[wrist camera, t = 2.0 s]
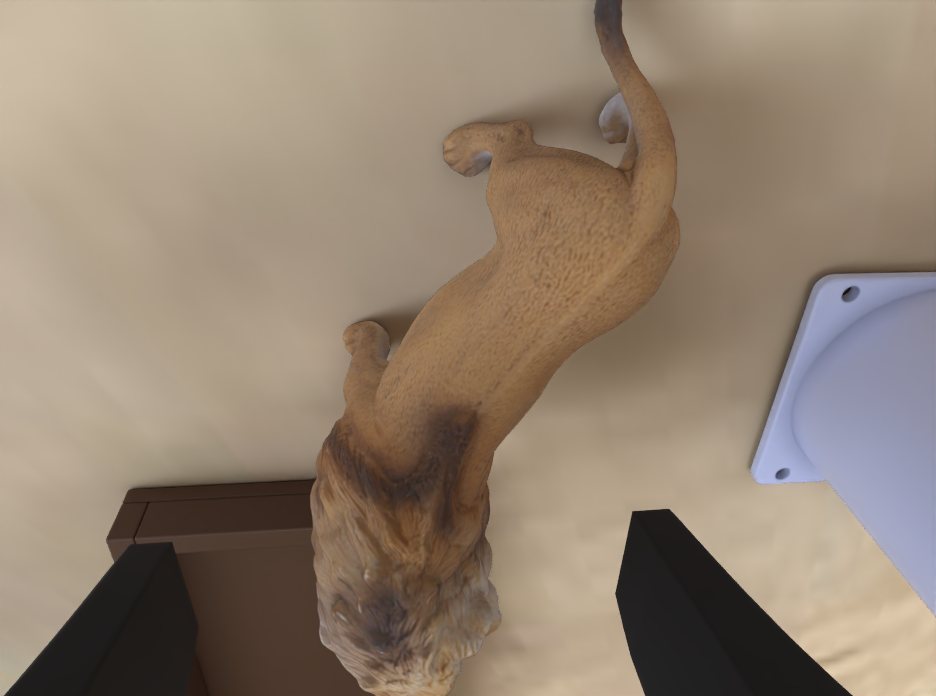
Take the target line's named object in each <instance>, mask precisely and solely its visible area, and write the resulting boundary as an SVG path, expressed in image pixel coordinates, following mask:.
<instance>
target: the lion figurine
mask: <svg viewBox="0 0 936 696" xmlns="http://www.w3.org/2000/svg"><path fill="white" fill-rule="evenodd" d="M594 14H595V26H596V31H597V35H598V38H599V41H600V45H601V51H602V53H603V55H604V57H605V59H606V61H607V63H608V65H609V67H610V69H611V72H612V74H613V76H614V78H615V80H616V82H617V84H618V87H619V89H620V92H619V93H618V94H616V95H615V96H614V97H612V98H611V99H610V100H609V101H608V102H607V104H606V105H605V107H604V109H603V111H602V112H601V114H600V117H599V126H600V128H601V131H602V134H603V137H604V139H605V141H607V142H608V143H610V144H614V143H626V148H625V152H624V155H623V157H622V160H621V162H620V164H619V167H618V168H614V167H612V166H610V165H609V164H607V163H605V162H603V161H601V160H599V159H597V158H595V157H592V156H589V155H587V154H584V153H580V152H577V151H573V150H566V149H560V148H554V147H546V146H541V145H537V144H536V143H535V142H534V139H533V130H532V128H531V126H530V125H529V124H528V123H527V122H525V121H523V120H516V121H511V122H507V123H501V124H487V123H471V124H468V125H464V126H462V127H460V128H458V129H456V130H454V131H453V132H452V133H451V134H450V135H449V136H448V137H447V138H446V140H445V141H444V143H443V154H444V160H445V162H446V163H447V164H448V165H449V166H450V167H451V168H452V169H453V170H454V171H456V172H458V173H460V174H462V175H463V176H465V177H472V176H475V175H477V174H478V173H480V172H481V171H482V170H483V169H484V168H485V167H486V166H487V165H488V164H489V162H490V161H491V160H492V161H491V166H490V172H489V179H488V185H487V190H486V198H487V203H488V206H489V209H490V211H491V213H492V216H493V219H494V225H495V229H496V233H497V236H498V238H497V243H496V245H495V246H494V247H493V249H492V250H491V251H490V252H489V253H488V254H487V255H485V256H484V257H483V258H482V259H480V260H478V261H477V262H475V263H474V264H472V265H471V266H469V267H467V268H466V269H465V270H463V271H462V272H461V273H459V274H458V275H457V276H456V277H454V278H453V279H452V280H450V281H449V282H448V283H446V284H445V285H444V286H443V287H441V288H440V290H439V291H438V292H437V293H436V294H435V295H434V296H433V297H432V298H431V300H430V301H429V302H428V303H427V304H426V306H425V307H424V308H423V309H422V311H421V312H420V313H419V314H418V316H417V317H416V319H415V320H414V322H413V323H412V325H411V326H410V328H409V330H408V332H407V333H406V335H405V337H404V339H403V341H402V342H401V344H400V346H399V347H398V349H397V350H396V352H395V353H394V355H393V357H392V359H391V361H390V362H388V361H386V359H387V356H388V354H389V351H390V348H389V337H388V332H387V331H386V329H384V328H382V327H381V326H380V325H379V324H377V323H375V322H373V321H363V322H358V323H354V324H352V325H351V326H349V327H348V328H347V329H346V331H345V333H344V335H343V340H344V342H345V346H346V349H347V350H348V351H349V352H350V353H351V354H352V356H353V357H352V361H351V364H350V368H349V370H348V373H347V375H346V378H345V382H344V396H345V400H346V404H347V406H346V409H345V412H344V416H343V417H342V418H341V419H339V420H338V421H336V423H335V425H334V427H333V429H332V431H331V433H330V434H329V436H328V437H327V438H326V439H325V441H324V443H323V446H322V449H321V450H320V452H319V454H318V456H317V460H316V467H317V478H316V481H315V482H314V484H313V486H312V490H311V495H310V507H311V511H312V517H313V531H312V535H311V542H312V545H313V548H314V551H315V556H314V563H313V566H314V570H315V573H316V576H317V583H316V585H317V596H318V613H319V618H320V629H319V634H320V639H321V641H322V644H324V645H325V646H326V647H327V648H329V649H330V650H332V651H333V652H335V654H336V656H337V657H338V659H339V660H340V662H341V663H342V665H343V666H344V667H345V669H346V670H347V671H349V672H350V673H351V674H352V675H353V676H354V677H355V678H356V679H357V681H358V684H359V686H360V687H361V688H362V689H363V690H364V691H367V692H370V693H373V694H375V695H376V696H445V695H447V694H448V692H449V691H450V690H451V689H452V688H453V686H454V683H455V677H456V676H457V675H458V674H459V673H460V672H461V662H462V659H465V658H468V657H471V656H474V655H475V654H476V653H477V652H478V651H479V649H480V647H481V645H482V642H483V638H484V636H487V635H489V634H490V633H492V632H494V631H495V630H496V629H497V628H498V627H499V625H500V623H501V617H502V615H501V613H500V611H499V607H498V595H497V592H496V589H495V587H494V586H493V584H492V583H491V582H490V581H489V580H488V576H489V573H490V570H491V563H492V551H491V547H490V545H489V543H488V541H487V539H486V537H485V531H486V527H487V524H488V521H489V515H490V503H489V489H488V485H487V480H488V476H489V473H490V469H491V466H492V461H493V456H494V451H495V450H496V448H497V447H498V446H499V445H500V443H501V442H502V441H503V439H504V438H505V437H506V436H507V435H508V434H509V432H510V431H511V430H512V429H513V428H514V427H515V426H516V425H517V424H518V423H519V421H520V420H521V419H522V418H523V417H524V416H525V414H526V413H527V412H528V411H529V409H530V408H531V407H532V405H533V404H534V403H535V402H536V400H537V399H538V398H539V397H540V395H541V394H542V392H543V390H544V389H545V387H546V385H547V384H548V382H549V380H550V379H551V377H552V376H553V374H554V373H555V372H556V370H557V369H558V368H559V367H560V365H561V364H562V363H563V362H564V361H565V360H566V359H567V358H568V357H569V356H570V355H571V354H572V353H573V352H574V351H576V350H577V349H578V348H580V347H581V346H583V345H584V344H586V343H588V342H589V341H591V340H593V339H595V338H596V337H598V336H600V335H602V334H604V333H605V332H607V331H609V330H611V329H613V328H614V327H616V326H617V325H619V324H620V323H622V322H623V321H625V320H626V319H628V318H629V317H630V316H631V315H633V314H634V313H635V312H636V311H638V310H639V309H640V308H641V307H643V306H644V305H645V304H646V303H647V302H648V301H649V299H650V298H651V297H652V296H653V295H654V294H655V292H656V290H657V289H658V287H659V286H660V284H661V282H662V280H663V278H664V276H665V274H666V273H667V271H668V269H669V267H670V265H671V263H672V261H673V259H674V256H675V254H676V251H677V249H678V247H679V244H680V229H679V223H678V219H677V216H676V214H675V212H674V210H673V209H672V207H671V205H672V201H673V198H674V194H675V188H676V181H677V156H676V147H675V139H674V136H673V132H672V129H671V126H670V122H669V119H668V117H667V115H666V112H665V110H664V108H663V106H662V105H661V103H660V101H659V99H658V98H657V96H656V94H655V92H654V90H653V89H652V87H651V86H650V84H649V82H648V81H647V80H646V78H645V77H644V76H643V74H642V73H641V72H640V70H639V68H638V67H637V65H636V63H635V61H634V60H633V57H632V55H631V52H630V50H629V47H628V44H627V41H626V39H625V37H624V34H623V31H622V0H596V3H595V9H594Z"/></svg>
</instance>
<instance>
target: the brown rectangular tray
mask: <svg viewBox="0 0 936 696" xmlns="http://www.w3.org/2000/svg"><path fill="white" fill-rule="evenodd" d="M315 481H316V480H310V481H290V482H271V483H251V484H231V485H212V486H192V487H173V488H153V489H133V490H128V492H127V494H126V497H125V499H124V501H123V505H122V506H121V508H120V510H119V512H118V515H117V517H116V519H115V521H114V523H113V526H112V528H111V530H110V532H109V534H108V536H107V539H106V542H107V544H108V547H109V550H110V552H111V555H112V558H113V560H114V563H115V561H116V560H117V559H118V558H119V556H120V555H121V554H122V553H123V551H124V550H125V549H126V548H127V547H128V546H129V545H130V544H145V543H160V542H172V543H173V546H174V549H175V553H176V556H177V559H178V562H179V565H180V568H181V571H182V575H183V578H184V581H185V584H186V587H187V590H188V593H189V597H190V600H191V603H192V606H193V609H194V612H195V615H196V618H197V622H198V625H199V629H198V635H197V641H196V647H195V653H194V659H193V665H192V670H191V676H190V681H189V686H188V692H187V696H376V695H375V694H373V693H370V692H367V691H364V690H363V689H362V688H361V687H360V686H359V684H358V681H357V679H356V678H355V677H354V676H353V675H352V674H351V673H350V672H349V671H347V670H346V669H345V667H344V666H343V665H342V663H341V662H340V660H339V659H338V657H337V656H336V654H335V652H333V651H332V650H330V649H329V648H327V647H326V646H325V645H324V644H322V641H321V639H320V634H319V629H320V618H319V613H318V596H317V585H316V583H317V576H316V573H315V570H314V566H313V563H314V556H315V551H314V548H313V545H312V542H311V535H312V531H313V517H312V511H311V507H310V495H311V490H312V486H313V484H314V482H315Z"/></svg>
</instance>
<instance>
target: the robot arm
mask: <svg viewBox="0 0 936 696" xmlns="http://www.w3.org/2000/svg"><path fill="white" fill-rule="evenodd" d="M849 287H851V289H850V291H849V292H848V293H847V294H845V295H843V296H842V294H843V292H844V291H845V290H846V289H848V288H849ZM779 470H780V471H779ZM751 474H752V476H753V478H754V479H755V481H756V482H757V483H759V484H781V483H799V482H817V481H827V482H828V484H829V485H830V486H831V487H832V489H833V490H834V491H835V492H836V494H837V495H838V496H839V497H840V499H841V500H842V501H843V502H844V504H845V505H846V506H847V507H848V509H849V510H850V511H851V512H852V514H853V515H854V516H855V517H856V519H857V520H858V521H859V522H860V524H861V525H862V526H863V527H864V529H865V530H866V531H867V532H868V534H869V535H870V536H871V537H872V539H873V540H874V541H875V542H876V544H877V545H878V546H879V547H880V549H881V550H882V551H883V552H884V554H885V555H886V556H887V557H888V559H889V560H890V561H891V562H892V564H893V565H894V566H895V567H896V569H897V570H898V571H899V572H900V574H901V575H902V576H903V577H904V579H905V580H906V581H907V582H908V584H909V585H910V586H911V587H912V589H913V590H914V591H915V592H916V594H917V595H918V596H919V597H920V599H921V600H922V601H923V602H924V604H925V605H926V606H927V607H928V609H929V610H930V611H931V612H932V614H933V615H934V616H935V617H936V272H903V273H854V274H831V275H826V276H824V277H823V278H821V279H820V280H819V281H818V282H817V283H815V285H814V287H813V289H812V291H811V294H810V297H809V300H808V303H807V306H806V309H805V312H804V314H803V317H802V320H801V323H800V326H799V329H798V332H797V335H796V338H795V341H794V344H793V347H792V350H791V353H790V355H789V358H788V361H787V364H786V367H785V370H784V373H783V376H782V379H781V382H780V385H779V388H778V391H777V394H776V396H775V399H774V402H773V405H772V408H771V411H770V414H769V417H768V420H767V423H766V426H765V429H764V432H763V435H762V437H761V440H760V443H759V446H758V449H757V452H756V455H755V458H754V461H753V464H752V467H751ZM615 594H616V598H617V603H618V607H619V611H620V615H621V619H622V623H623V628H624V632H625V635H626V639H627V643H628V647H629V651H630V655H631V658H632V661H633V663H634V666H635V669H636V672H637V675H638V677H639V680H640V683H641V685H642V688H643V691H644V694H645V696H852V695H851V694H850V693H849V692H848V691H847V690H846V689H845V688H844V687H842V686H841V685H840V684H839V683H838V682H837V681H836V680H835V679H834V678H833V677H831V676H830V675H829V674H828V673H827V672H826V671H825V670H824V669H823V668H822V667H821V666H820V665H819V664H818V663H817V662H815V661H814V660H813V659H812V658H811V657H810V656H809V655H808V654H807V653H806V652H805V651H804V650H803V649H802V648H801V647H800V646H799V645H798V644H797V643H796V642H795V641H794V640H793V639H792V638H790V637H789V636H788V635H787V634H786V633H785V632H784V631H783V630H782V629H781V628H780V627H779V626H778V625H777V624H776V623H775V622H774V620H773V619H772V618H771V617H770V616H769V615H768V614H767V613H766V612H765V611H764V610H763V609H762V608H761V607H760V606H759V605H758V604H757V603H756V602H755V601H754V600H753V599H752V598H751V597H750V596H749V595H748V594H747V593H746V592H745V591H744V590H743V589H742V588H741V587H740V585H739V584H738V583H737V582H736V581H735V580H734V579H733V578H732V577H731V576H730V575H729V574H728V573H727V572H726V570H725V569H724V568H723V567H722V566H721V565H720V564H719V563H718V562H717V561H716V560H715V559H714V557H713V556H712V555H711V554H710V553H709V552H708V551H707V550H706V549H705V548H704V546H703V545H702V544H701V543H700V542H699V541H698V540H697V539H696V538H695V536H694V535H693V534H692V533H691V532H690V531H689V530H688V529H687V528H686V527H685V525H684V524H683V523H682V522H681V521H680V520H679V519H678V518H677V517H676V516H675V514H674V513H673V512H672V511H671V510H669V509H661V510H646V511H633V512H632V516H631V521H630V526H629V531H628V536H627V540H626V545H625V550H624V555H623V560H622V565H621V569H620V574H619V579H618V584H617V589H616V593H615ZM198 629H199V625H198V622H197V618H196V615H195V612H194V609H193V606H192V603H191V600H190V597H189V593H188V590H187V587H186V584H185V581H184V578H183V575H182V571H181V568H180V565H179V562H178V559H177V556H176V553H175V549H174V546H173V543H172V542H160V543H145V544H130V545H129V546H128V547H127V548H126V549H125V550H124V551H123V553H122V554H121V555H120V556H119V558H118V559H117V560H116V561H115V563H114V564H113V565H112V566H111V568H110V569H109V570H108V571H107V573H106V574H105V575H104V576H103V578H102V579H101V580H100V581H99V583H98V584H97V585H96V586H95V588H94V589H93V590H92V591H91V593H90V594H89V595H88V596H87V598H86V599H85V600H84V601H83V603H82V604H81V605H80V606H79V607H78V609H77V610H76V611H75V612H74V614H73V615H72V616H71V617H70V618H69V620H68V621H67V622H66V623H65V625H64V626H63V627H62V628H61V629H60V631H59V632H58V633H57V634H56V635H55V637H54V638H53V639H52V640H51V641H50V643H49V644H48V645H47V646H46V647H45V648H44V650H43V651H42V652H41V653H40V654H39V655H38V657H37V658H36V659H35V660H34V661H33V663H32V664H31V665H30V666H29V667H28V668H27V670H26V671H25V672H24V673H23V674H22V675H21V677H20V678H19V679H18V680H17V681H16V683H15V684H14V685H13V686H12V687H11V688H10V689H9V691H8V692H7V693H6V694H5V695H4V696H187V692H188V686H189V681H190V676H191V670H192V665H193V659H194V653H195V647H196V641H197V635H198Z"/></svg>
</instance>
